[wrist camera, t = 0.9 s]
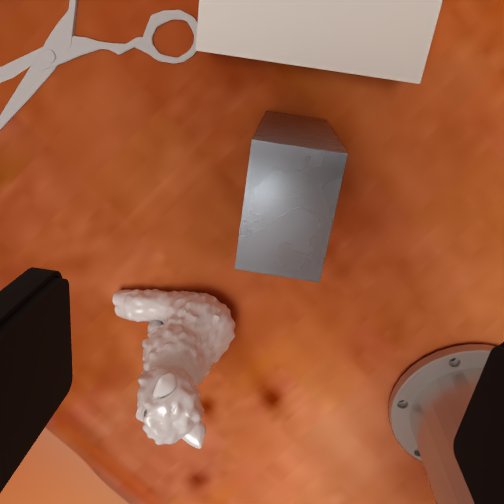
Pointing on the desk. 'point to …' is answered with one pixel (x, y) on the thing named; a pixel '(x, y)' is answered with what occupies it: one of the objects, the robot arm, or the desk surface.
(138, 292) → the seated beast figurine
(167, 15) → the scissors
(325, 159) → the brushed steel block
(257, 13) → the post base
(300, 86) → the desk surface
